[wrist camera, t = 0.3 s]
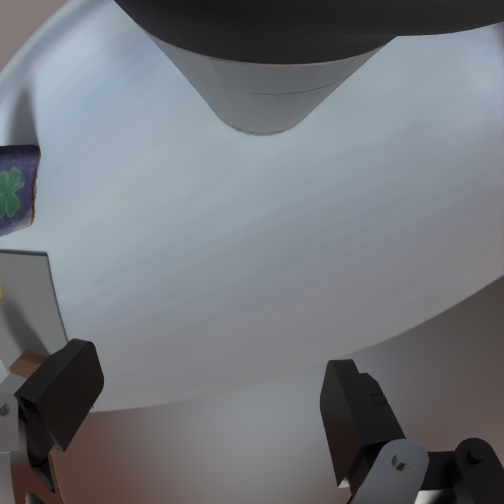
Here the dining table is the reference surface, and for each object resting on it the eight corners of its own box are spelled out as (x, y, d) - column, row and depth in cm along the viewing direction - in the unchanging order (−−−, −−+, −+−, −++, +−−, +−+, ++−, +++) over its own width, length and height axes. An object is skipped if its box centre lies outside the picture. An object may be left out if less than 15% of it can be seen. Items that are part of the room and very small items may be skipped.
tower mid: (11, 371, 25) (-7, 392, 20) (34, 381, 25) (15, 404, 20) (24, 397, 27) (9, 417, 22) (47, 407, 27) (32, 430, 22)
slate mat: (-32, 249, 26) (-33, 250, 25) (47, 255, 26) (45, 256, 25) (11, 376, 33) (9, 377, 33) (93, 407, 33) (92, 409, 32)
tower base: (26, 349, 30) (8, 368, 25) (53, 358, 30) (35, 379, 25) (39, 379, 32) (24, 398, 27) (66, 389, 32) (51, 410, 27)
